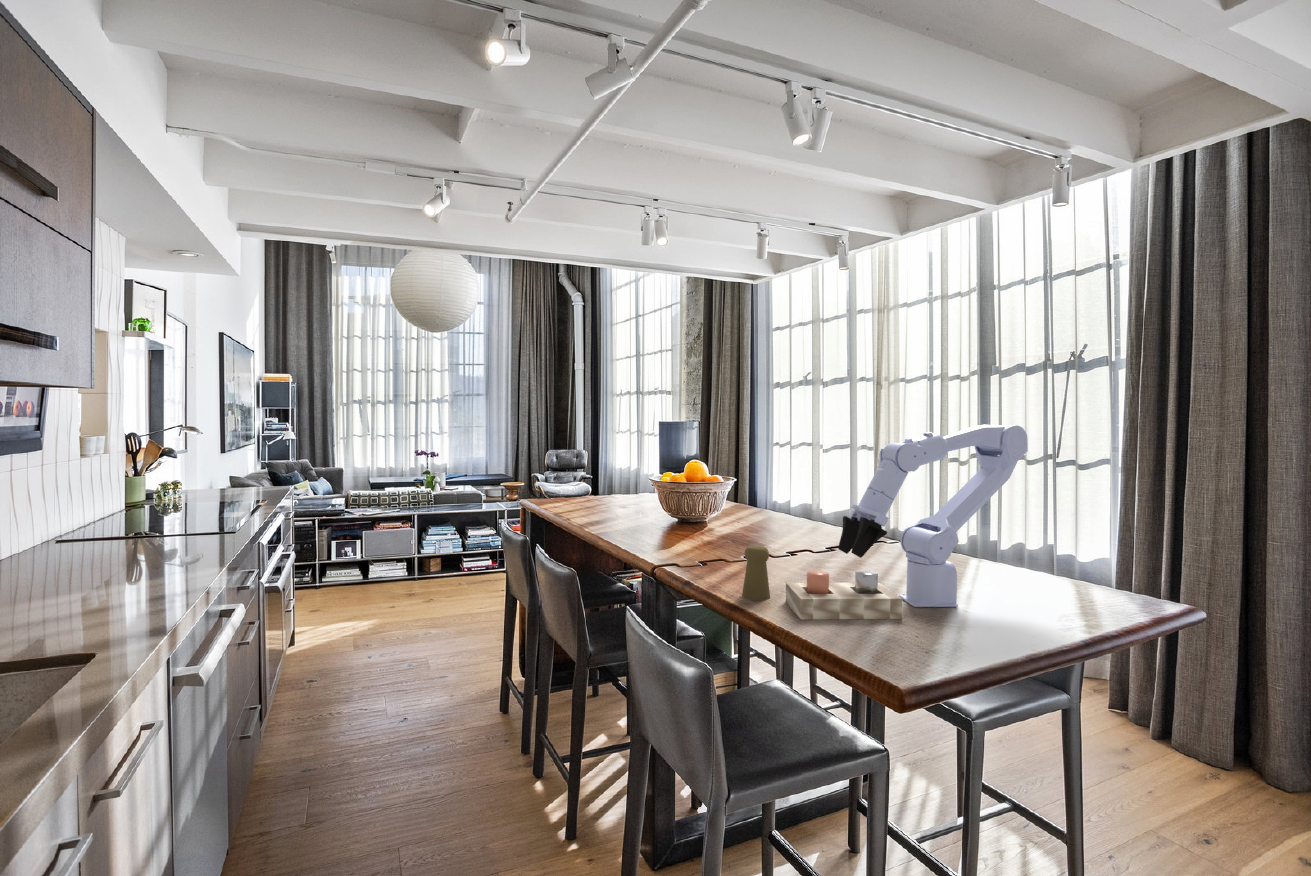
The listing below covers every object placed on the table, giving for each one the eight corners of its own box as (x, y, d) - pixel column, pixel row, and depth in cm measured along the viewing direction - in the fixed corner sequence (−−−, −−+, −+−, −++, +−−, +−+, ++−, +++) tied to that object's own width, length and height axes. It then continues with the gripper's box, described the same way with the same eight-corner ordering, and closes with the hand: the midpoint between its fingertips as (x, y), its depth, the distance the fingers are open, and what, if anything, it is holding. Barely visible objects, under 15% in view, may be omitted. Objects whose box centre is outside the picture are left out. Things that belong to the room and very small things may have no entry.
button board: (878, 601, 143) (879, 582, 143) (902, 618, 131) (902, 598, 131) (785, 601, 142) (786, 582, 142) (800, 619, 130) (801, 599, 130)
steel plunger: (872, 589, 139) (873, 570, 139) (880, 595, 135) (881, 575, 134) (851, 589, 139) (852, 570, 139) (859, 595, 134) (859, 576, 134)
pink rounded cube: (825, 589, 138) (825, 570, 138) (831, 595, 134) (832, 576, 134) (803, 589, 138) (804, 570, 138) (809, 596, 134) (810, 576, 134)
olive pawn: (769, 601, 142) (770, 549, 142) (741, 599, 143) (741, 548, 143) (770, 593, 148) (771, 544, 148) (743, 591, 149) (743, 542, 149)
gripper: (850, 485, 145) (820, 540, 144) (877, 485, 131) (845, 546, 130) (878, 501, 146) (849, 556, 144) (908, 503, 131) (876, 564, 130)
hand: (849, 553), depth 137 cm, fingers open, 7 cm apart
